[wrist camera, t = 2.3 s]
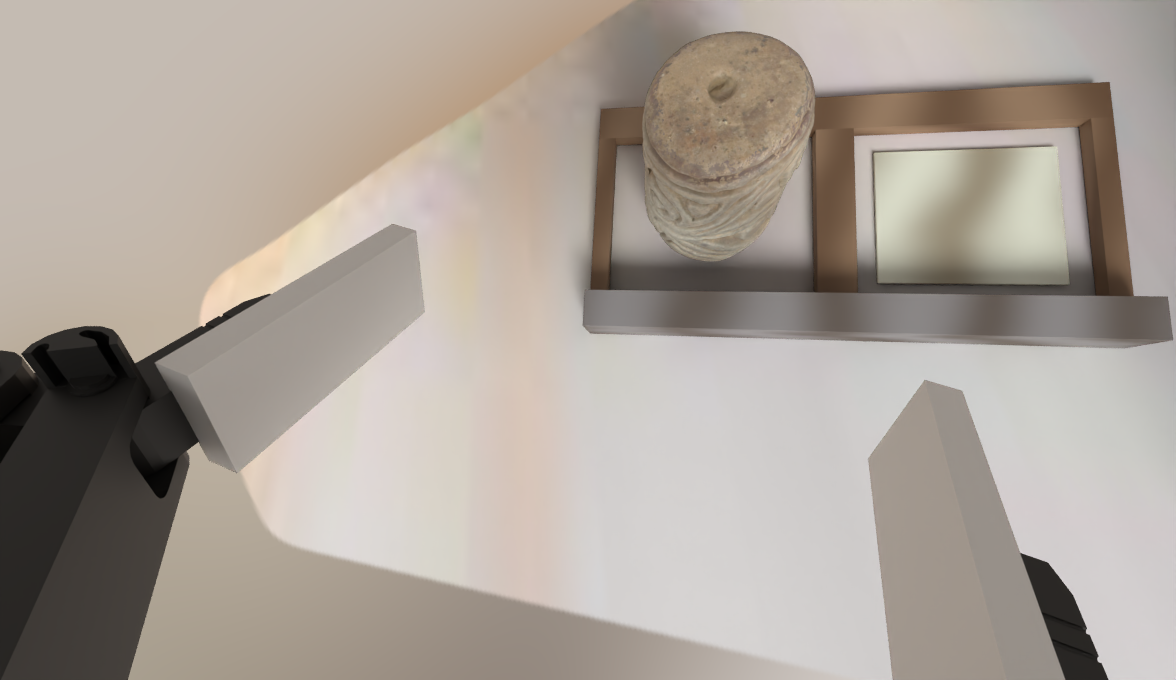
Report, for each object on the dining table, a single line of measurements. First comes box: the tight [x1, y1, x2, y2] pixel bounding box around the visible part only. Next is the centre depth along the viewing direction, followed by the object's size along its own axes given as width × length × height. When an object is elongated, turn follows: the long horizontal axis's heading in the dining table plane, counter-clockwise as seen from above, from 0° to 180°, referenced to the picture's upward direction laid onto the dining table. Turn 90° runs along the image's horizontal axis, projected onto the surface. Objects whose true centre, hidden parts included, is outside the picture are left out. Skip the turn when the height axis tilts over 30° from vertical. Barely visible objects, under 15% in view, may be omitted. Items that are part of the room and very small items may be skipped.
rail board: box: [583, 82, 1173, 348], centre depth 27 cm, size 27×14×2 cm, turn 87°
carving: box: [642, 32, 815, 261], centre depth 24 cm, size 6×8×12 cm
